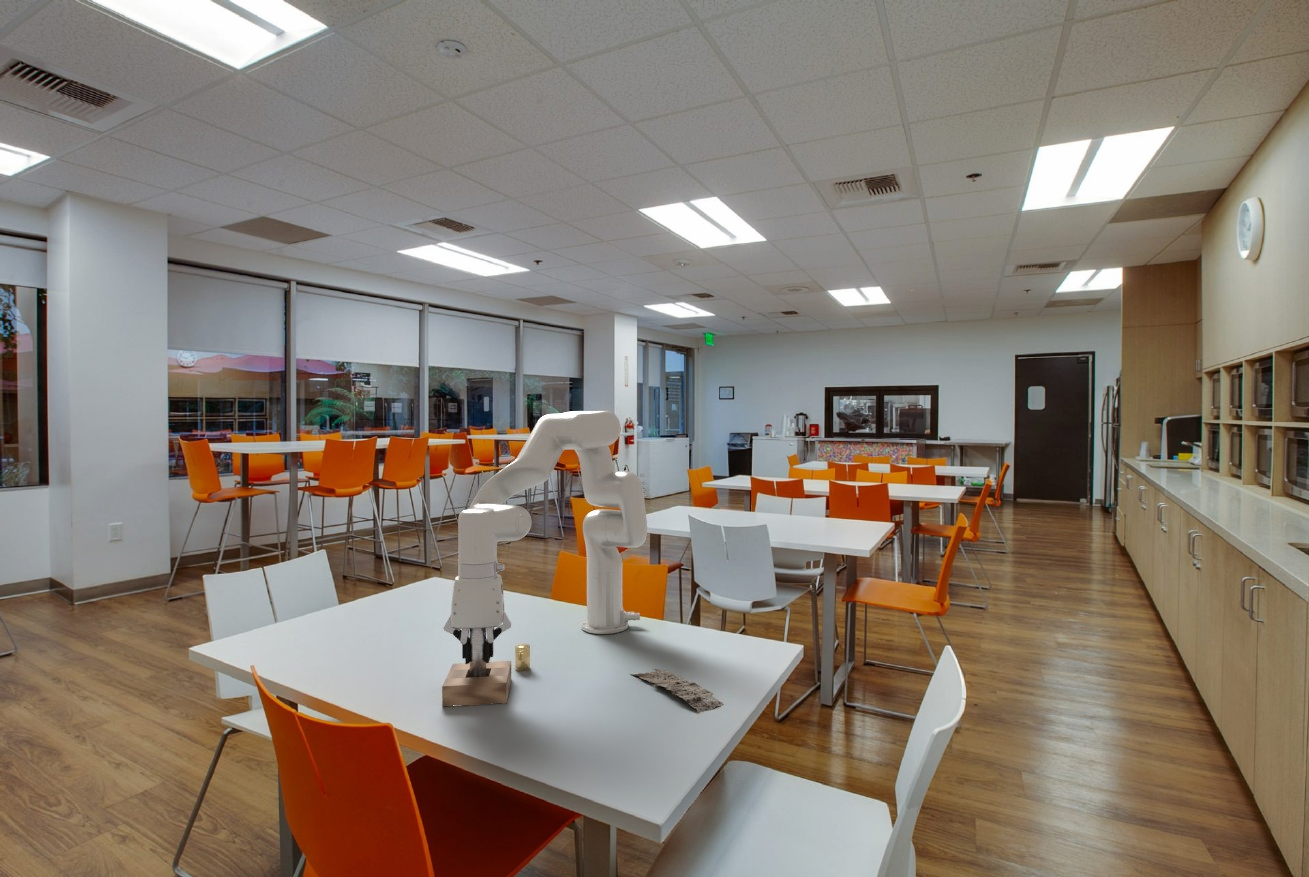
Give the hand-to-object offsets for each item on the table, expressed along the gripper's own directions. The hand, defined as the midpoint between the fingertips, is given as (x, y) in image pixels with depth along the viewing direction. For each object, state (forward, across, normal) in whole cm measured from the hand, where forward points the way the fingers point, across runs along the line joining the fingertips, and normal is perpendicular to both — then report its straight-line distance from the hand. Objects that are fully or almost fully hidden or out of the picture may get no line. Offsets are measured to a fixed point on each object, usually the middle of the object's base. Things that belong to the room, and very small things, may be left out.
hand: (478, 660), depth 129 cm
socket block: (+7, 0, 0) cm, 7 cm away
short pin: (+7, -8, -12) cm, 16 cm away
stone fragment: (+7, -39, +4) cm, 40 cm away
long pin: (+4, 0, 0) cm, 4 cm away
